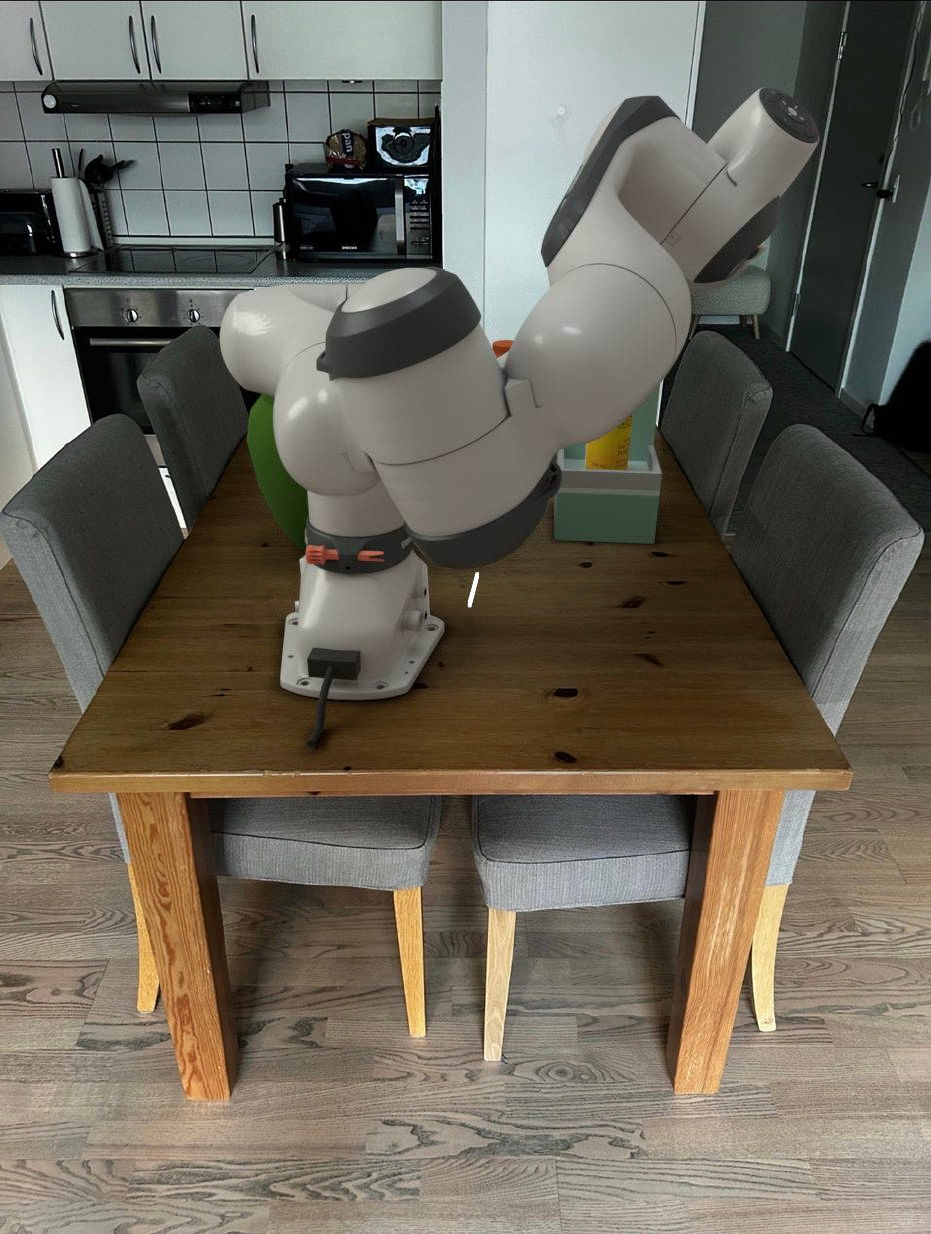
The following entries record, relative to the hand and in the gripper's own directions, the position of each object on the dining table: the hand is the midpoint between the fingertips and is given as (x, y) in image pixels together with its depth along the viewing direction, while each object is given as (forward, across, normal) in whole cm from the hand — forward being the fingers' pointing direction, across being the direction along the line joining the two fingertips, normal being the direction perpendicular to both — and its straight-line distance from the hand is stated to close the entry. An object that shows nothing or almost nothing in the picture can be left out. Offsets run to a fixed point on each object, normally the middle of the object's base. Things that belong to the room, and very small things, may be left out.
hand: (630, 308), depth 112 cm
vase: (+40, -31, -7) cm, 51 cm away
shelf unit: (+32, +7, -16) cm, 36 cm away
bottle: (+53, +8, +6) cm, 54 cm away
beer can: (+26, +7, -10) cm, 29 cm away
